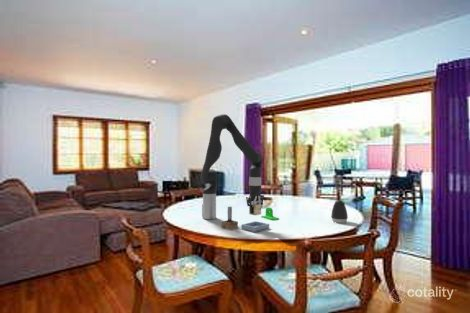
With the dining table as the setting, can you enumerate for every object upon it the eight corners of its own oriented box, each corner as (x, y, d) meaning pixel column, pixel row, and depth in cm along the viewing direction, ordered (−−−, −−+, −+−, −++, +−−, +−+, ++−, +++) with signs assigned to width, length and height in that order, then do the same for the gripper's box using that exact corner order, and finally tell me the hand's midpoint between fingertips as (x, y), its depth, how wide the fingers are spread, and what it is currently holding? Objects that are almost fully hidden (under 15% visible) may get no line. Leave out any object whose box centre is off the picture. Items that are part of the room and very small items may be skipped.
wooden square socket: (221, 228, 180) (221, 221, 180) (229, 226, 185) (229, 219, 185) (229, 230, 175) (229, 223, 175) (237, 228, 180) (237, 221, 180)
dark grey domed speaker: (337, 225, 188) (337, 201, 188) (328, 221, 198) (328, 199, 198) (351, 224, 190) (351, 200, 190) (341, 221, 200) (341, 198, 200)
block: (249, 214, 177) (249, 204, 177) (254, 213, 181) (254, 203, 181) (255, 215, 174) (255, 205, 174) (261, 214, 177) (261, 204, 177)
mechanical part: (261, 218, 208) (261, 207, 208) (267, 217, 211) (267, 206, 211) (272, 222, 198) (272, 210, 198) (279, 220, 201) (279, 209, 201)
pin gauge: (226, 226, 180) (226, 206, 181) (229, 225, 182) (229, 206, 182) (229, 227, 179) (229, 207, 179) (232, 226, 180) (232, 206, 180)
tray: (241, 229, 177) (241, 224, 177) (255, 225, 186) (255, 221, 186) (255, 232, 169) (255, 227, 169) (269, 229, 178) (269, 224, 178)
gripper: (251, 185, 170) (251, 215, 170) (267, 184, 180) (267, 212, 180) (242, 184, 175) (242, 213, 175) (258, 183, 185) (258, 210, 185)
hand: (255, 212), depth 177 cm, fingers closed on block, 5 cm apart
